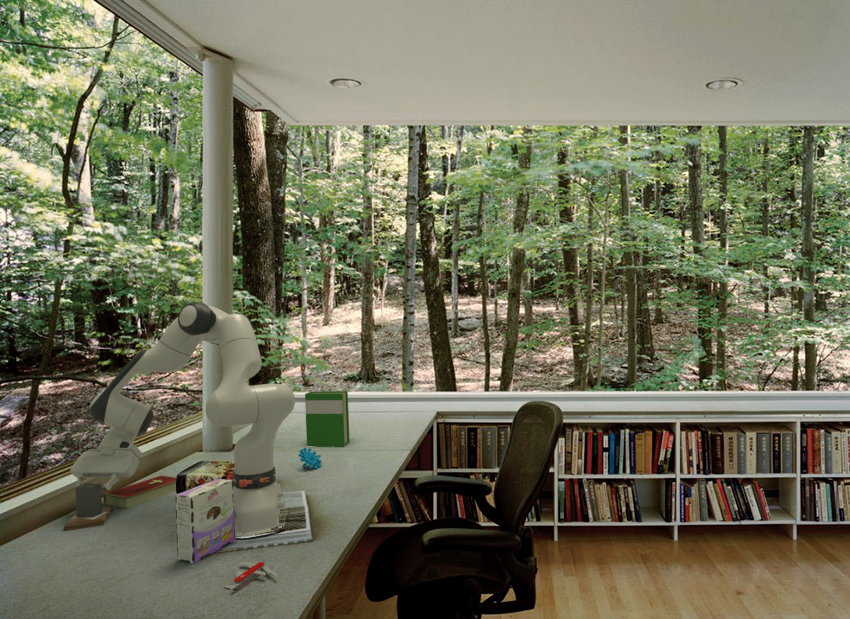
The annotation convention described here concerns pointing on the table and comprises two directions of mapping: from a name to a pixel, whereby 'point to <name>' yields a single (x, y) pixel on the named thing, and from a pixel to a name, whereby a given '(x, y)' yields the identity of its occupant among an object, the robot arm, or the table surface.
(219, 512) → the candy box
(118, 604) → the table surface
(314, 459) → the gear
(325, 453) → the table surface
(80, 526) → the board
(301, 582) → the table surface
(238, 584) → the swiss army knife
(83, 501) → the block
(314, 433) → the hardback book
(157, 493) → the hardcover book
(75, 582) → the table surface
